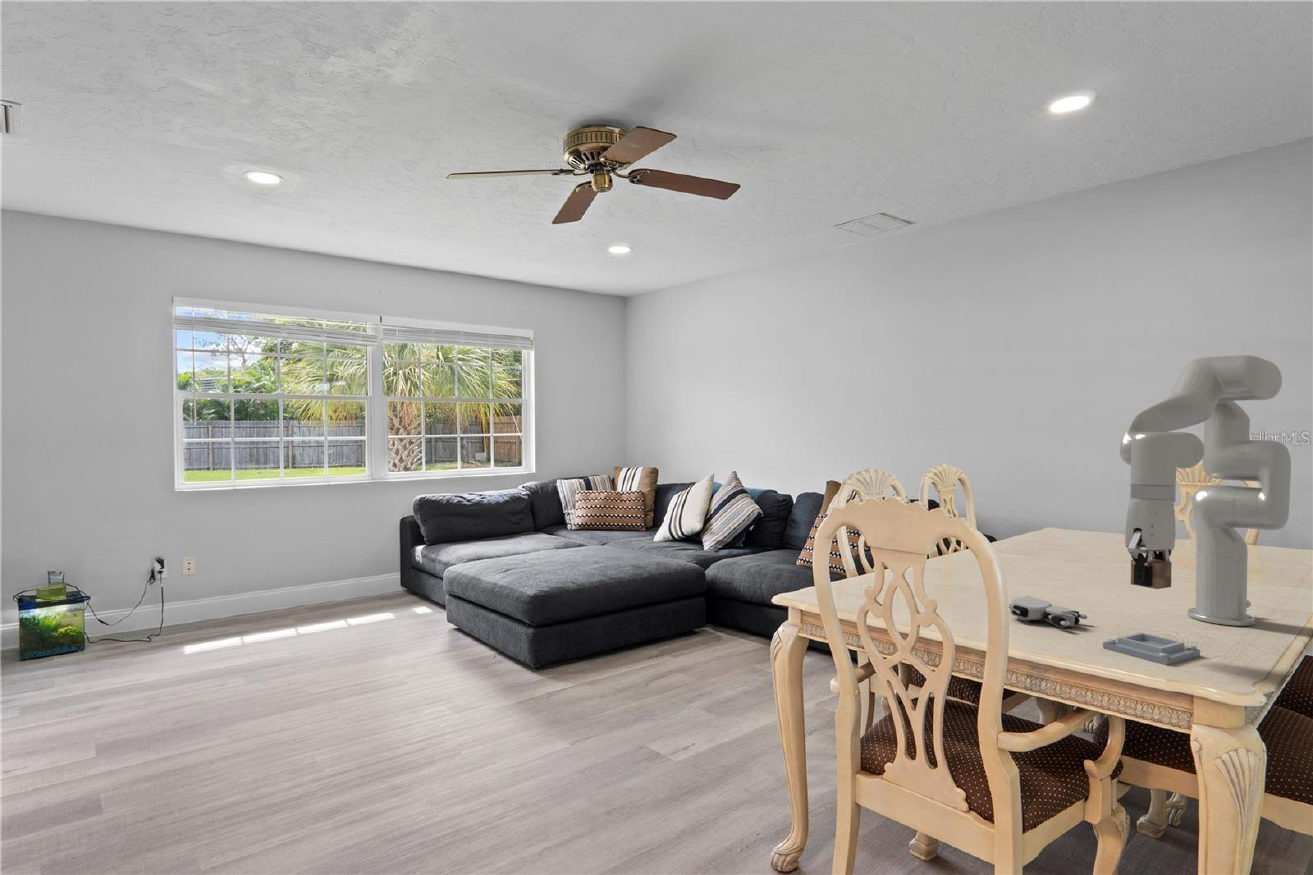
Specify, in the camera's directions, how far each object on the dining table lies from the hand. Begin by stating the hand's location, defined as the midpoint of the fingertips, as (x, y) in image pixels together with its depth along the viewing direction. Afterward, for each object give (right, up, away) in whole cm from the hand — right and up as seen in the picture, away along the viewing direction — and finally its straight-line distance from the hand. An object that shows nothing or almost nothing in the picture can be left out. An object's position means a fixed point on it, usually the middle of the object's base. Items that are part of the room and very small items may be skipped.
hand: (1150, 583), depth 145 cm
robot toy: (-9, -14, +23) cm, 28 cm away
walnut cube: (0, -1, 0) cm, 1 cm away
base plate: (0, -14, 0) cm, 14 cm away
